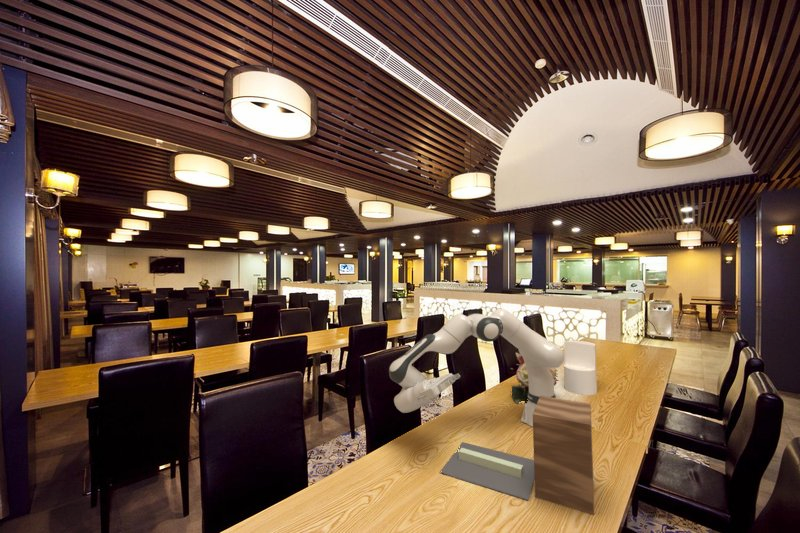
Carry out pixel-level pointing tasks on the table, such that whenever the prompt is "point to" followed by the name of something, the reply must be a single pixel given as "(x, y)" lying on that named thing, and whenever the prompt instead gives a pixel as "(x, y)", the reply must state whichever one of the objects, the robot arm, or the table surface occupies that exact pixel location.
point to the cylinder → (580, 367)
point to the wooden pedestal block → (563, 453)
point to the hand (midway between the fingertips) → (454, 379)
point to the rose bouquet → (525, 380)
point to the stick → (491, 462)
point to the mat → (492, 472)
